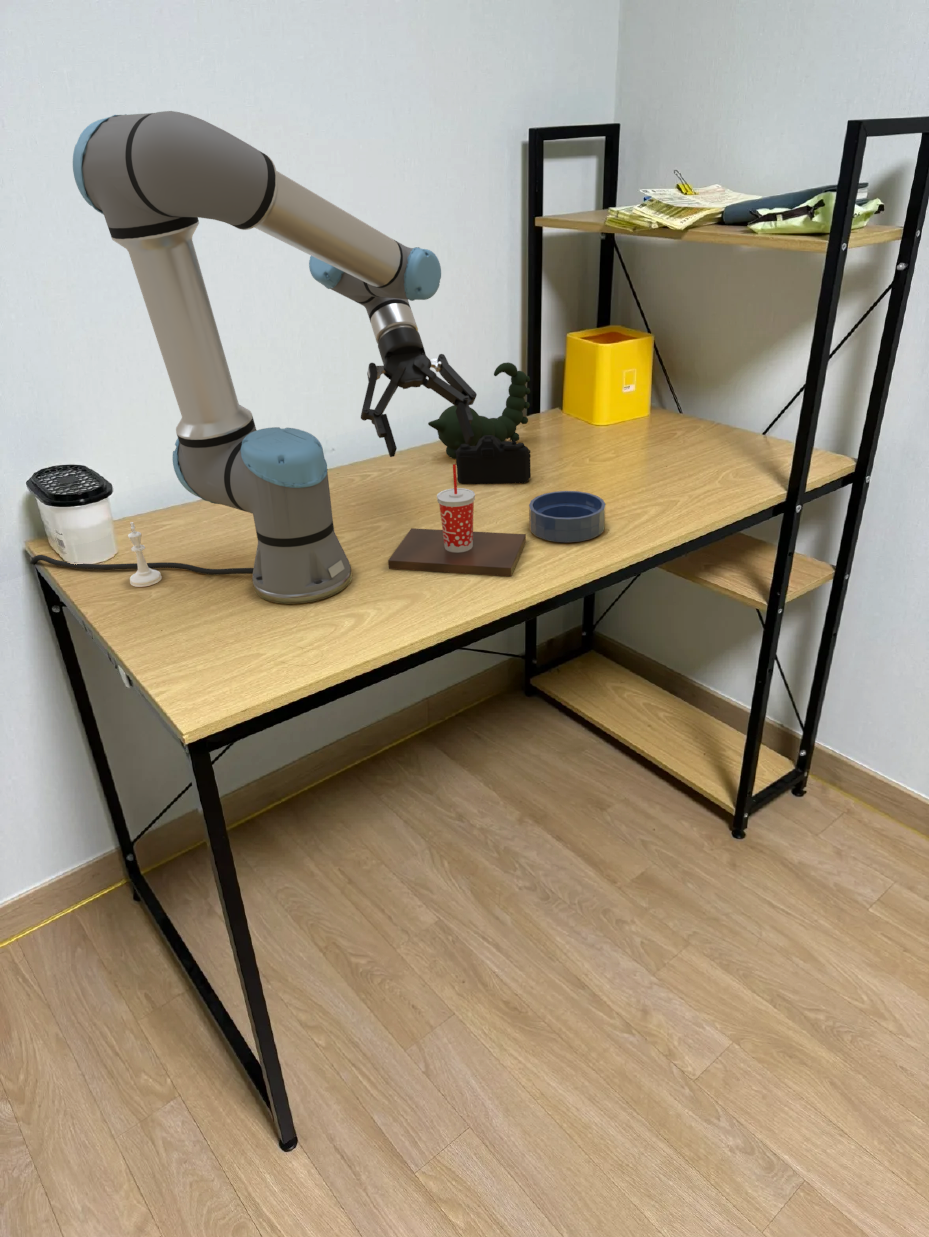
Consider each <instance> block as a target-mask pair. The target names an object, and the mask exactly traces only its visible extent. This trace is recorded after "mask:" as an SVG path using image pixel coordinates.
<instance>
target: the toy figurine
mask: <svg viewBox="0 0 929 1237" xmlns="http://www.w3.org/2000/svg"><path fill="white" fill-rule="evenodd" d="M501 373H504V374H506V375H507V376H508V377H510V382H511V383H510V385H509V387H508V397H507V398H506V400H505V407H504V409H503V410H502V413H501V415H499V416H498V417H490V418H489V417H487V416H484V415H479V413H477V411H476V410H475V408H474V409H473V408H472V407H470V410H471V413H472V416H473V420H472V422H471V424H470V425H471V428H472V431H473V434H474V437H473V440H472V442H471V444H469V446H476V445H477V443H478V441H479V439H480V438H482V437H483V436H485V435H493V436H495V437H497V438H498V439H499V440H500V441H501V442H503V441H507V440H509V441H510V442H512V441H513V440H515V441H516V442H518V441H519V440H520V434H519V433H518V432H516V431H517V426H519V425H520V424H521V425H527V424H528V422H529V418H528V417H527V416H524V412H523V411H524V410H525V409H527V410H528V409H529V408H530V407H531V404H530V402H529V401H526V399H525V397H526V396H528V395H529V394H531V389H530V388H529V387H527V386H526V384H527V383H529V382H531V377H530V376H529V375H527V374H526V373H525V372H524V371H522V370H518V368H517V366H516V364H514V363H512V362H502V363H500V364H499V365H498V366H497V367H496V368H495V370H494V371H493V376H494V377H498V375H500V374H501ZM456 409H457V407H456V406H455V405H453V404H452V405H451V406H449V407H447V408H446V409H444V410H443V411H442V413H441V414H440V415H439V417H438V418H437V419H434V420H431V421H429V422H428V423H427V425H428V426H429V427H431V428H432V429H434V430H436V431H437V435H438V440H440V442H441V443H442V444H443V445H444V446H445V447H446V448H445V454H446V456H448V458H451V459H453V460H456V453H454V450H457V449H458V448H460V445H461V444H466V442H465V439H464V436H463V433H462V430H461V427H460V424H459V421H458V418H457V415H456V412H455V411H456Z"/></svg>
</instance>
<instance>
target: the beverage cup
mask: <svg viewBox="0 0 929 1237" xmlns="http://www.w3.org/2000/svg"><path fill="white" fill-rule="evenodd" d="M452 475H453V478H452V479H453V487H452V488H447V489H443V490H441V491H439V492H437V494H436V501H437V503H438V506H439V514H440V520H441V521H440V522H441V528H442V529H441V530H443V538H444V545H445V549H446V550H447V551H450V552H456V553H459V552H465V551H468V550H470V549H472V547H473V532H474V506H475V505H474V504H475V501H476V493H475V491H474V490H472V489H469V488H464V487H458V480H457V464H456V463H452Z"/></svg>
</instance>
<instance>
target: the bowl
mask: <svg viewBox="0 0 929 1237" xmlns="http://www.w3.org/2000/svg"><path fill="white" fill-rule="evenodd" d="M606 506H607V504H606V502H605V501H604V499H603V498H601V497H600V496H598V495H596V494H593V493H589V492H586V491H579V490H557V491H551V492H546V493H543V494H540V495H537V496H535V497H533V499H531V500H530V502H529V504H528V528H529V531H530V533H531V534H532V535H534V536H535V537H537V538H539V539H542V540H545V541H549V542H554V543H578V542H584V541H589V540H592V539H594V538H597V537H599V536H600V535H602V534H603V533H604V531H605V528H606V508H607V507H606Z"/></svg>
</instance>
